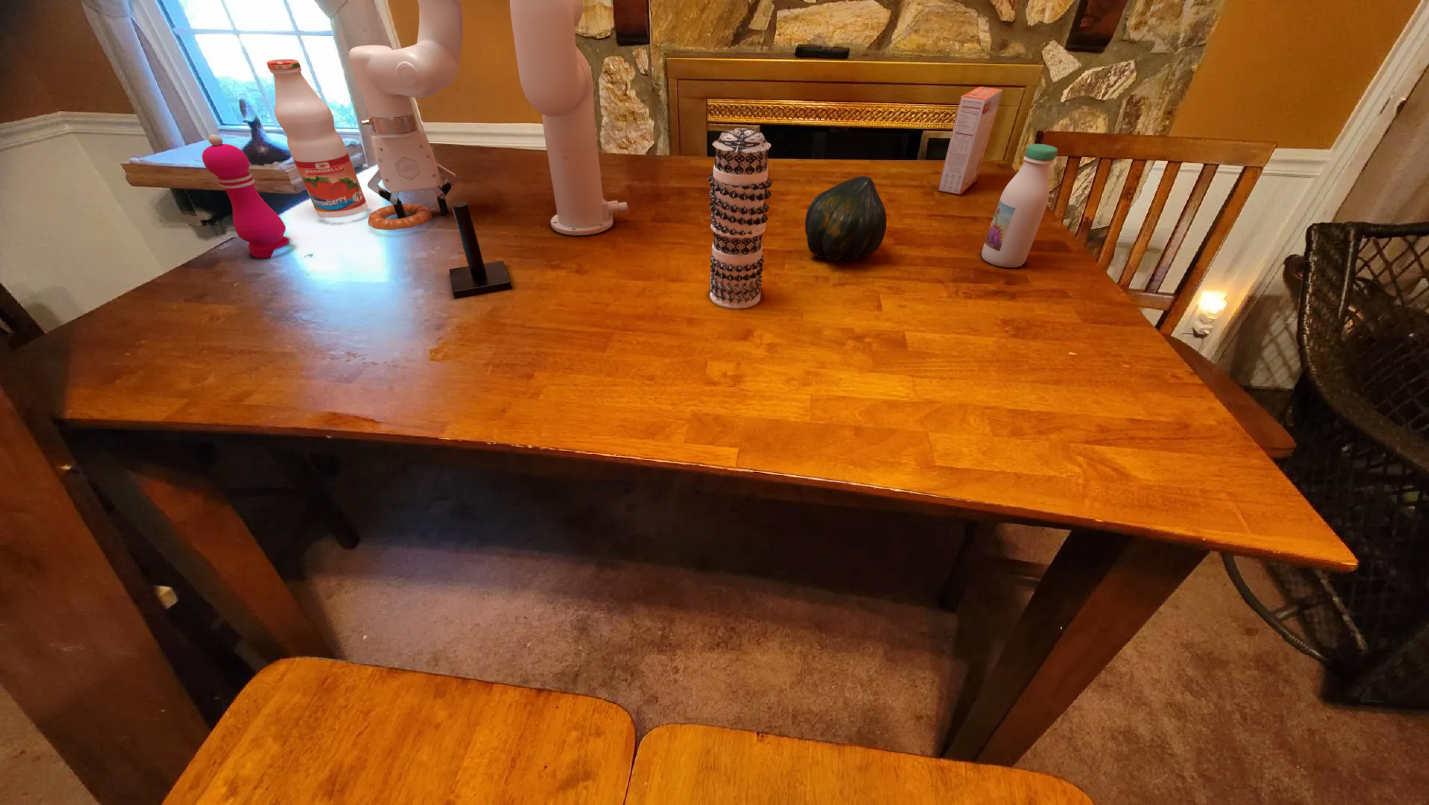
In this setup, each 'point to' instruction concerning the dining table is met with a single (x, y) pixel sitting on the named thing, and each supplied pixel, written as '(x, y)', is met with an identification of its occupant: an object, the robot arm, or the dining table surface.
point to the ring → (380, 221)
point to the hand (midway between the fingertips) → (424, 218)
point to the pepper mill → (244, 199)
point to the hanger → (474, 261)
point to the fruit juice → (315, 143)
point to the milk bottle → (1020, 209)
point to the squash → (846, 220)
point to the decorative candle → (738, 217)
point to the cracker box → (969, 139)
